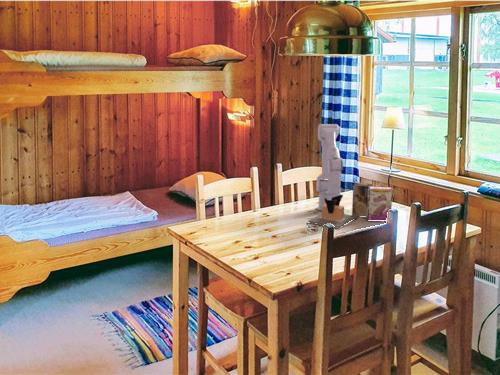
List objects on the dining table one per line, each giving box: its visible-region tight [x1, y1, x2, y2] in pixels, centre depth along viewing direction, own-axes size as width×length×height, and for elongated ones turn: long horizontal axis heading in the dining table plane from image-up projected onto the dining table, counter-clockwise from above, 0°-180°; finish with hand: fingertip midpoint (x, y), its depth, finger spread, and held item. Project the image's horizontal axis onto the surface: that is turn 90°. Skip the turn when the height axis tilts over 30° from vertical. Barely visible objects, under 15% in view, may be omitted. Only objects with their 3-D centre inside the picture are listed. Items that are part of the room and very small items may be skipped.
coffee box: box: [351, 182, 374, 216], centre depth 280 cm, size 9×6×16 cm
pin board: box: [307, 213, 358, 229], centre depth 273 cm, size 20×16×5 cm
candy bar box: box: [365, 186, 394, 221], centre depth 272 cm, size 11×5×16 cm, turn 84°
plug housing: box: [321, 204, 345, 221], centre depth 273 cm, size 5×10×6 cm, turn 63°
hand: (333, 211), depth 273 cm, fingers open, 7 cm apart
